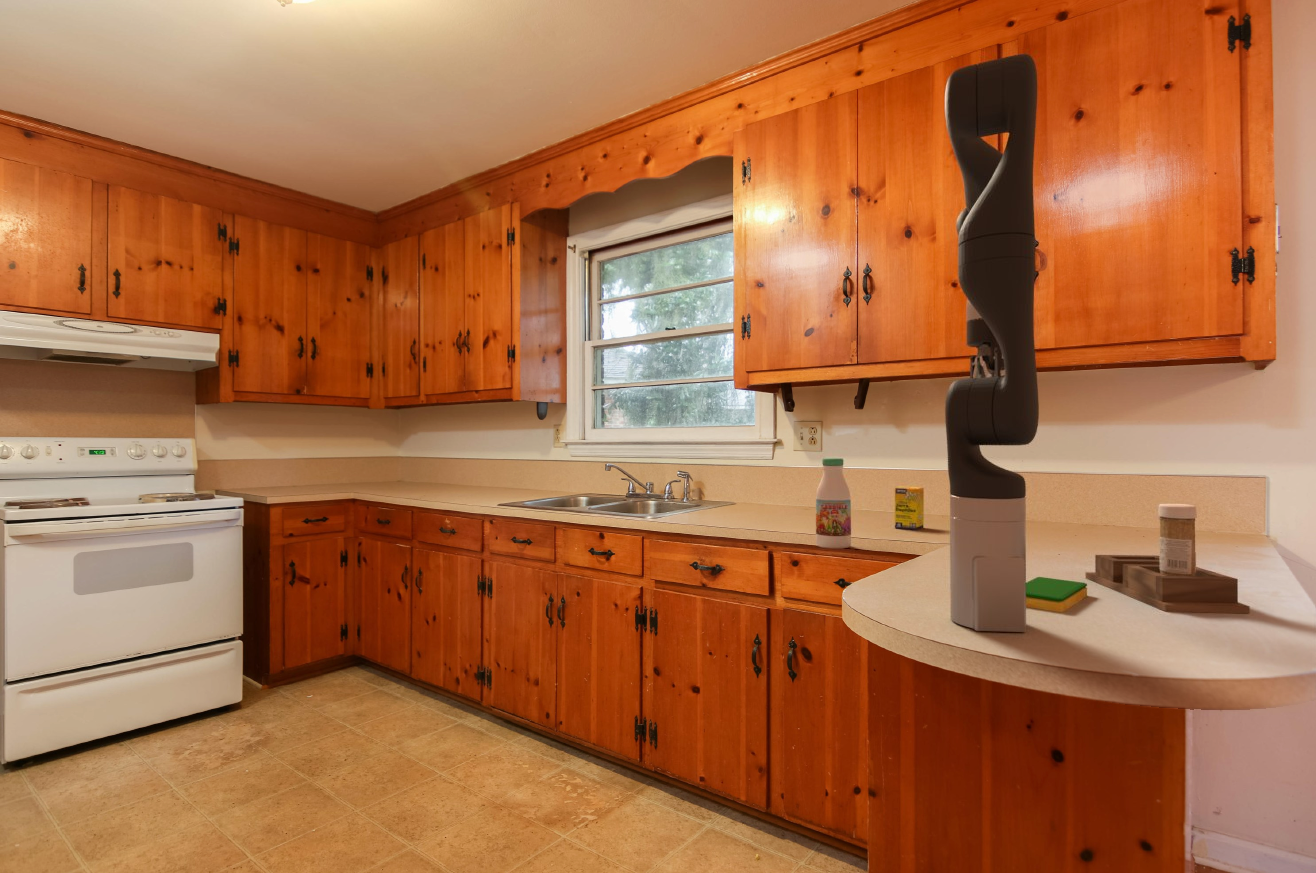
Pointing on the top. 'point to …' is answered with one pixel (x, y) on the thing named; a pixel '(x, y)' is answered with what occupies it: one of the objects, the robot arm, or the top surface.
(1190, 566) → the sprinkles bottle
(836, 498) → the milk bottle
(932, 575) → the top surface
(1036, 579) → the dish sponge
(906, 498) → the supplement box
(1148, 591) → the socket holder
